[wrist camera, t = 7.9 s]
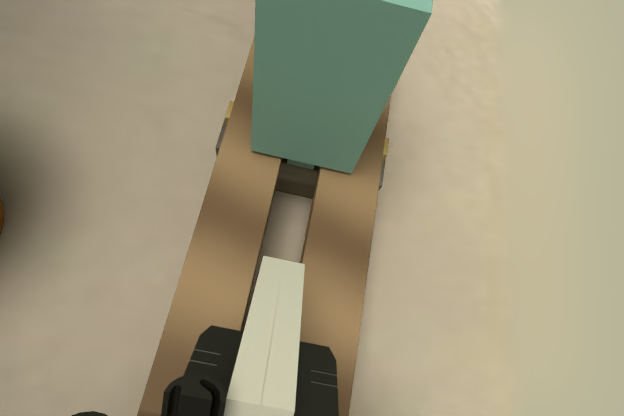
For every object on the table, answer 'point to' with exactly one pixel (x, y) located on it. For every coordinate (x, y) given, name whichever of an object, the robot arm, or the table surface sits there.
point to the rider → (327, 74)
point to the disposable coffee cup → (1, 215)
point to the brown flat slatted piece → (248, 240)
